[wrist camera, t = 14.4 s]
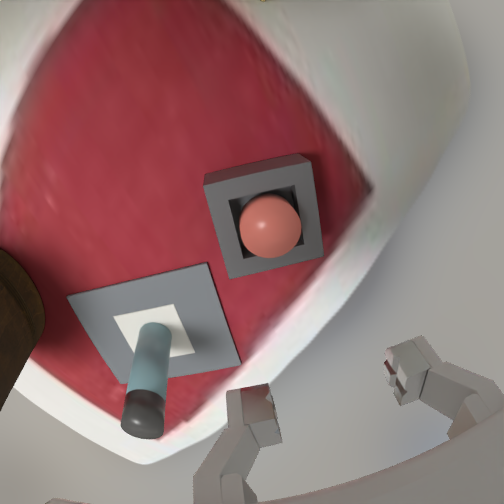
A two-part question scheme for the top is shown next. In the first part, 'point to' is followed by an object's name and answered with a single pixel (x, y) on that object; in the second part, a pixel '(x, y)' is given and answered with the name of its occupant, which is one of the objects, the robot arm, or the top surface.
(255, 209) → the button
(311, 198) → the button housing
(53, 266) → the top surface
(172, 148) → the top surface
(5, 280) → the wooden container
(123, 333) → the board
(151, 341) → the marker
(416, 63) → the top surface
